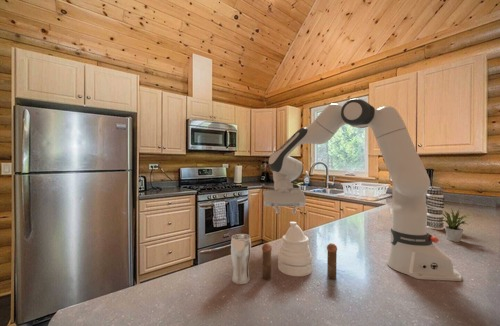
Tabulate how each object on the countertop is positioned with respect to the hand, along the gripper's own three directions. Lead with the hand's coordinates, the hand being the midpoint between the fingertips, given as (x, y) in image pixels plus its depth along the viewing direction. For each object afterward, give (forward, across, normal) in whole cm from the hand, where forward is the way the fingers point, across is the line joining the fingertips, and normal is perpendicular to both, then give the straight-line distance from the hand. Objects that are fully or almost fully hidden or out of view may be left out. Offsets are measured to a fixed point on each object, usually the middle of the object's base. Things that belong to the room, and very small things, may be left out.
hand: (286, 213), depth 110 cm
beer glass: (+32, -20, -8) cm, 39 cm away
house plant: (+5, +88, +18) cm, 90 cm away
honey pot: (+26, 0, -2) cm, 26 cm away
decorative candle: (-11, +97, +35) cm, 103 cm away
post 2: (+31, +12, -8) cm, 34 cm away
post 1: (+31, -12, -8) cm, 34 cm away
